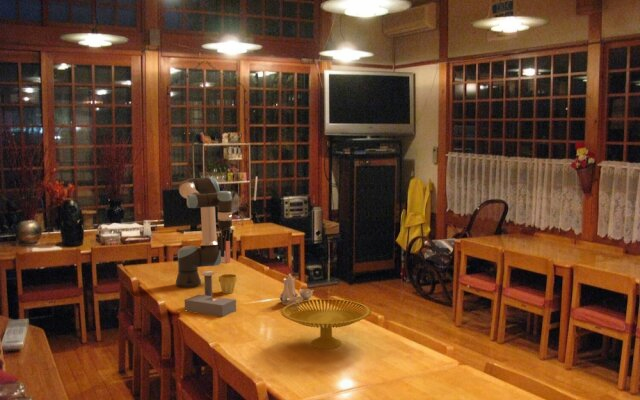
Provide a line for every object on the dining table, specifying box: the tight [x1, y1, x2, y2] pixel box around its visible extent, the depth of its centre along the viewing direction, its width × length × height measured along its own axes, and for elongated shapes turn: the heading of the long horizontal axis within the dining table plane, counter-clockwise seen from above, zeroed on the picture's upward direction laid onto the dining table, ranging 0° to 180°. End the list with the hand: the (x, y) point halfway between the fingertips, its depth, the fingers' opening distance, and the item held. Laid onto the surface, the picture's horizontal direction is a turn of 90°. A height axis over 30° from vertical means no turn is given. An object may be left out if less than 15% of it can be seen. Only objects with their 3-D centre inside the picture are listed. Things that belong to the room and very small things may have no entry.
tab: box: [220, 241, 231, 265], centre depth 359 cm, size 4×4×12 cm
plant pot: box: [218, 273, 238, 295], centre depth 379 cm, size 10×10×10 cm
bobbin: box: [201, 270, 217, 301], centre depth 356 cm, size 10×10×17 cm
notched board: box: [184, 294, 237, 318], centre depth 341 cm, size 24×12×6 cm, turn 63°
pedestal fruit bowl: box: [279, 298, 372, 350], centre depth 289 cm, size 40×40×15 cm
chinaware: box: [279, 273, 314, 310], centre depth 355 cm, size 28×17×17 cm, turn 167°
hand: (225, 261), depth 360 cm, fingers closed on tab, 3 cm apart
